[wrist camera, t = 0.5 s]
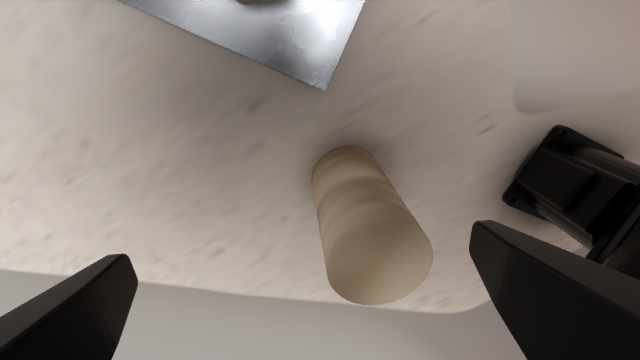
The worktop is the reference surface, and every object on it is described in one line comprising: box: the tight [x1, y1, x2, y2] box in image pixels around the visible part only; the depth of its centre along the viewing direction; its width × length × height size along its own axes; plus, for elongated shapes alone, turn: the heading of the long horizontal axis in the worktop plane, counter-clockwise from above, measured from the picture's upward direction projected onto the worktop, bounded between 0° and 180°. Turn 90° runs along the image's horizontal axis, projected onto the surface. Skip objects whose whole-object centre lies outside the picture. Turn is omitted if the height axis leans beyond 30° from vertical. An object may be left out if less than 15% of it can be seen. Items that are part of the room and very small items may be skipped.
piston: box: [312, 147, 433, 305], centre depth 18 cm, size 5×5×9 cm
